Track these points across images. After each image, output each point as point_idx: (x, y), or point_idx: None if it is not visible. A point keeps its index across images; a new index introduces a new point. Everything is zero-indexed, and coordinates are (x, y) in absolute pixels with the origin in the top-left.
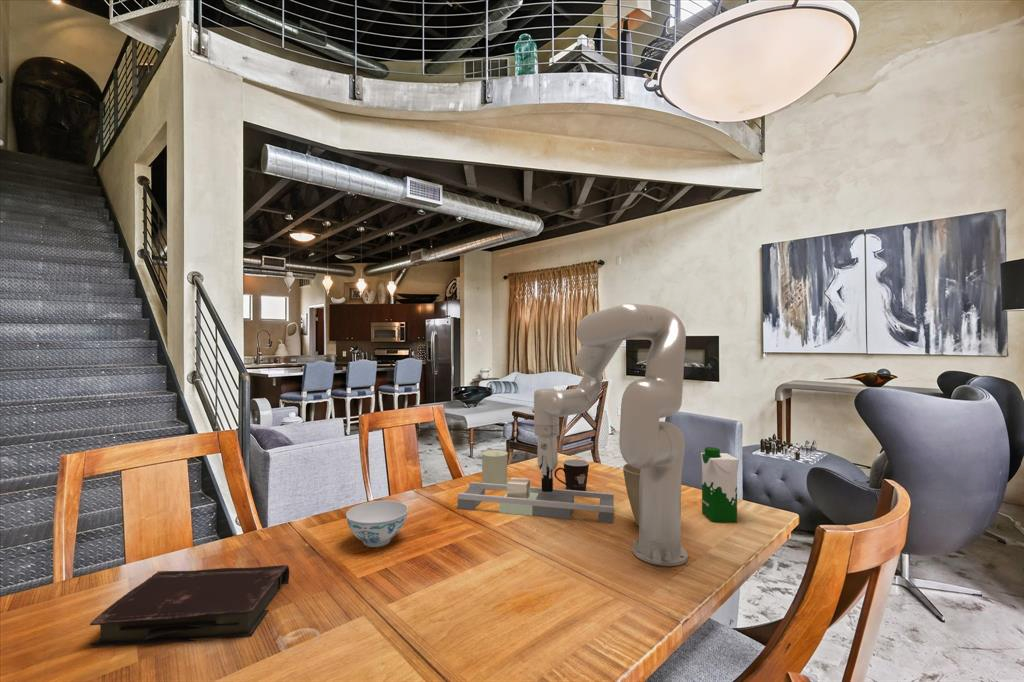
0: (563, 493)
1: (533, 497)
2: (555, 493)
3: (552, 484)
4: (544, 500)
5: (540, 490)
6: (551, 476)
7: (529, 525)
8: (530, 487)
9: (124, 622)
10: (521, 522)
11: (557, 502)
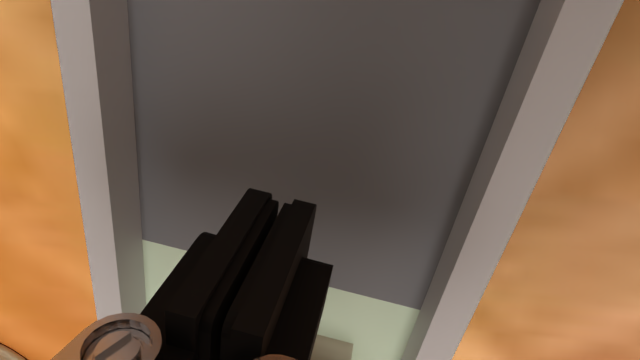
0: (113, 11)
1: None
2: (127, 102)
3: (241, 240)
4: (465, 262)
5: (126, 243)
6: (161, 341)
7: (629, 294)
8: None
9: None
10: (559, 330)
11: (557, 135)
